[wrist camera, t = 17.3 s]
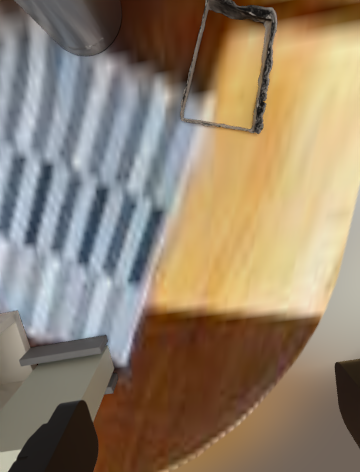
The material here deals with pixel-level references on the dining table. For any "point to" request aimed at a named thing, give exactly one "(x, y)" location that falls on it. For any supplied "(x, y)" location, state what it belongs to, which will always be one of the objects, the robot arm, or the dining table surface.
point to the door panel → (51, 398)
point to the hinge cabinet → (36, 355)
